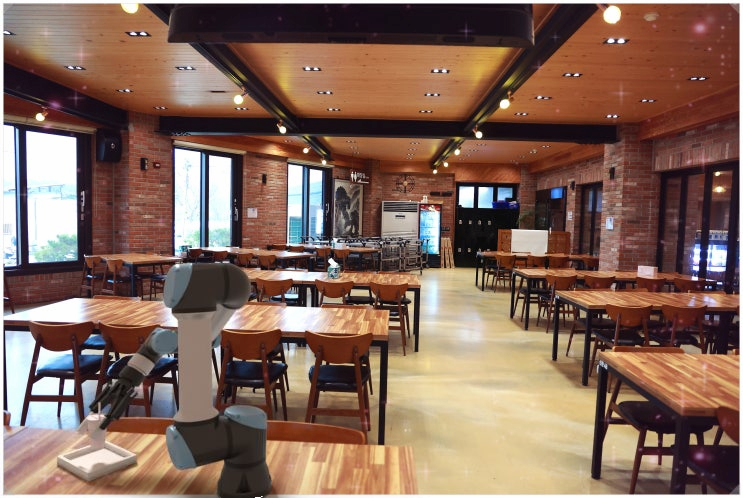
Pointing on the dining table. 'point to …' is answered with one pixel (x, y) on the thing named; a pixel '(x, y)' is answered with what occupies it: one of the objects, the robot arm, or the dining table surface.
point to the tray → (96, 460)
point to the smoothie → (92, 423)
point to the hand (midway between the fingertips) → (85, 435)
